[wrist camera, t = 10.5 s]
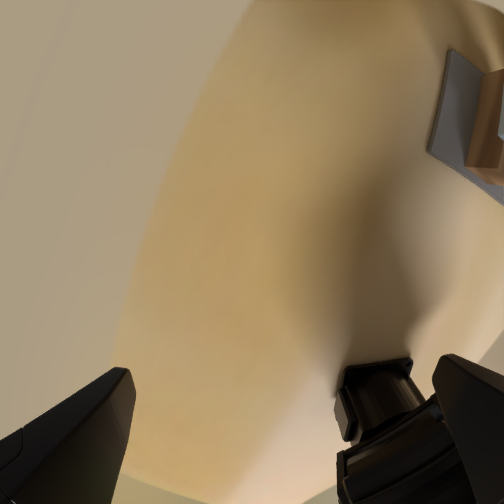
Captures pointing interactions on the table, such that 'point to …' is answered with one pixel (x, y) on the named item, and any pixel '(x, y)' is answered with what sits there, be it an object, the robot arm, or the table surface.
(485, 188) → the mat
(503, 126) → the block
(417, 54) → the table surface
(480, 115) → the ridge
